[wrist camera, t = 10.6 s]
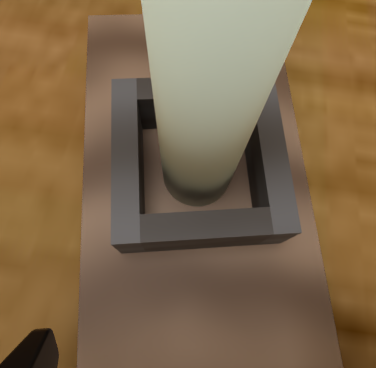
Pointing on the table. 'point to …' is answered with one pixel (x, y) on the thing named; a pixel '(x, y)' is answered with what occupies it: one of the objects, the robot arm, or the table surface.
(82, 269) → the keeper
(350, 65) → the table surface
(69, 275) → the table surface
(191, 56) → the pale green peg
